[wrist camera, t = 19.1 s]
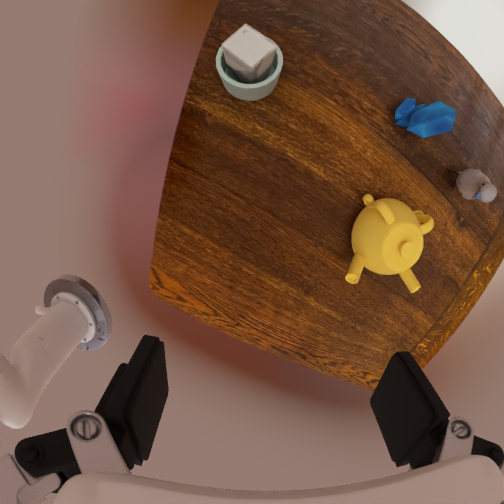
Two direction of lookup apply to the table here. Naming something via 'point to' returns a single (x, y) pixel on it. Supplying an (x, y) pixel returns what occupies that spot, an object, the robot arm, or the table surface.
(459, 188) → the bird
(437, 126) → the crystal
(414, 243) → the teapot
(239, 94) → the jar
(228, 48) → the box
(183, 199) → the table surface
